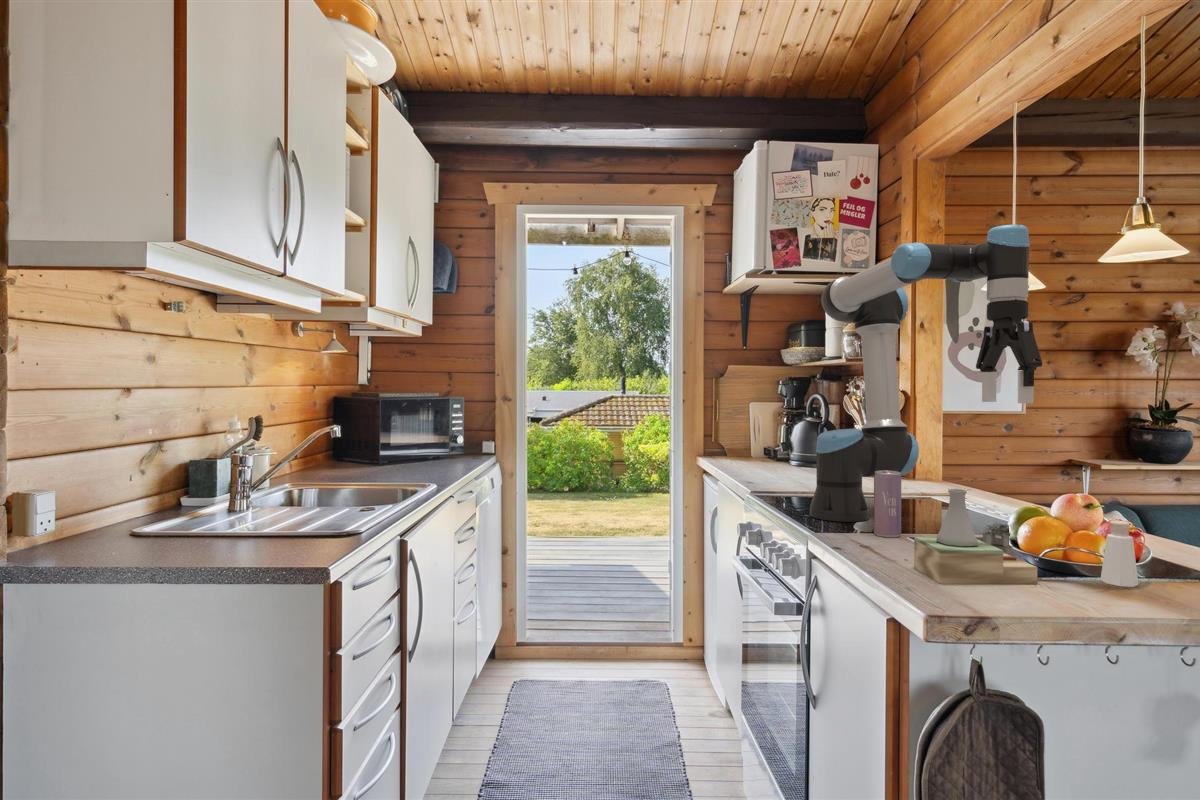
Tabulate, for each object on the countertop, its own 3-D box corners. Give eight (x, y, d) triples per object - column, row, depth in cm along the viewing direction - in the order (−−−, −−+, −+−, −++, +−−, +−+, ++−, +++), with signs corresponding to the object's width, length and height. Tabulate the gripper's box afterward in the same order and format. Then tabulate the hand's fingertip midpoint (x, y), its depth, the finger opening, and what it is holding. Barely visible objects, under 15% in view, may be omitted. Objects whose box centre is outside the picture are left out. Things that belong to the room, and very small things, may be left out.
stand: (914, 567, 135) (914, 536, 135) (1002, 567, 134) (1003, 536, 134) (940, 583, 124) (940, 550, 124) (1037, 584, 123) (1037, 550, 123)
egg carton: (1013, 549, 150) (1013, 531, 150) (976, 543, 156) (977, 525, 156) (1031, 542, 157) (1031, 524, 157) (995, 536, 163) (995, 519, 163)
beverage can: (898, 533, 166) (898, 470, 165) (903, 538, 160) (903, 473, 160) (871, 532, 167) (872, 470, 167) (875, 537, 161) (876, 473, 161)
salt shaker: (1120, 588, 121) (1121, 525, 121) (1092, 579, 126) (1093, 519, 126) (1146, 586, 122) (1147, 523, 122) (1117, 577, 127) (1118, 518, 127)
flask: (985, 548, 125) (985, 493, 125) (942, 547, 126) (943, 492, 126) (970, 539, 132) (971, 487, 132) (930, 538, 133) (930, 486, 133)
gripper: (1064, 292, 132) (1062, 404, 133) (993, 307, 157) (992, 401, 158) (1024, 293, 133) (1023, 404, 133) (959, 307, 158) (958, 401, 158)
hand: (1006, 402), depth 145 cm, fingers open, 13 cm apart
